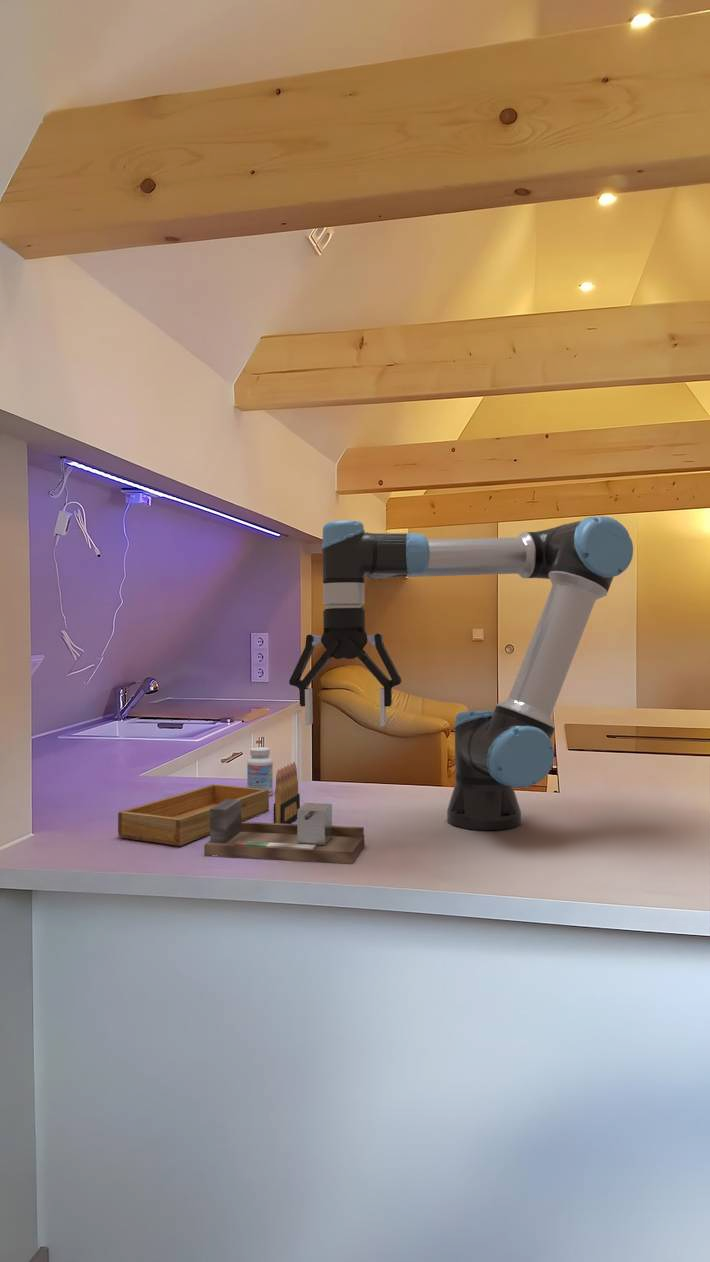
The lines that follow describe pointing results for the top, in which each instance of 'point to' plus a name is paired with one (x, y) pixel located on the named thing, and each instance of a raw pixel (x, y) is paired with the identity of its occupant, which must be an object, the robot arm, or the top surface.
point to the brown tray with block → (276, 839)
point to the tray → (187, 814)
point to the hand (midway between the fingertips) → (345, 724)
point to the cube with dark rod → (314, 823)
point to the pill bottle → (260, 769)
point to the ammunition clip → (286, 795)
